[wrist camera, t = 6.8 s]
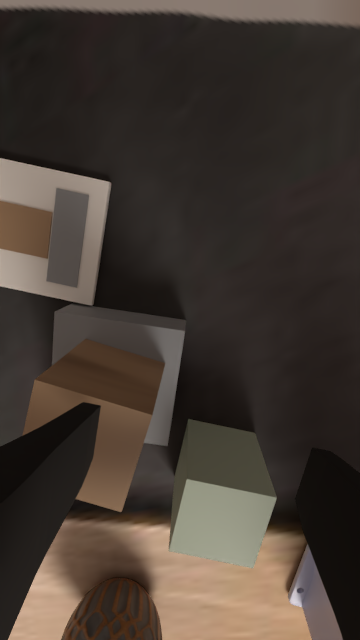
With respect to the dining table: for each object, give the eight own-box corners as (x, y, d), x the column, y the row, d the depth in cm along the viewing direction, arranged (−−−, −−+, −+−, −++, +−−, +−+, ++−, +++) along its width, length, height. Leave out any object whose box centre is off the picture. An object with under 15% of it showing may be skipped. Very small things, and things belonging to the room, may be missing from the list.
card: (93, 304, 19) (91, 305, 18) (-20, 280, 19) (-26, 281, 18) (111, 183, 17) (109, 181, 17) (-13, 156, 17) (-19, 153, 17)
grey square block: (171, 418, 21) (167, 446, 18) (68, 403, 21) (48, 428, 18) (186, 318, 19) (185, 330, 16) (75, 302, 19) (54, 311, 16)
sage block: (238, 488, 22) (253, 568, 16) (174, 475, 22) (168, 550, 16) (254, 432, 21) (276, 497, 15) (188, 418, 21) (186, 479, 15)
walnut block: (143, 433, 18) (121, 512, 12) (67, 411, 18) (12, 480, 12) (165, 363, 17) (152, 414, 11) (85, 338, 17) (34, 379, 11)
